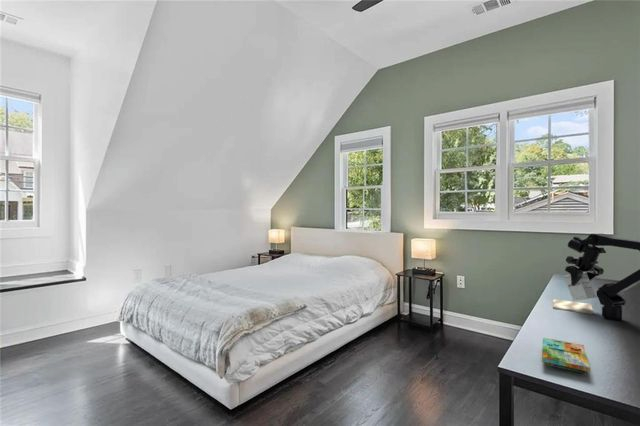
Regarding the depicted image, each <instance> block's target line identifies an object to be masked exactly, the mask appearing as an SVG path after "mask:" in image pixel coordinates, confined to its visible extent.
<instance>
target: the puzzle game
mask: <svg viewBox="0 0 640 426" xmlns="http://www.w3.org/2000/svg"><path fill="white" fill-rule="evenodd" d="M541 350H542V351H541V353H542V354H541V355H542V357H541V362H543V363H544V364H546V366H550V367H554V368H559V369H563V370H568V371H574V372H577V373H580V374H584V373H586V372H588V373H590V372H591V366H590V363H589V360H588V356H587V352H586V348H585V345H584V344H579V343H576V342H575V343H574V342H568V341H565V340H559V339H553V338H547V337H542V349H541Z"/></svg>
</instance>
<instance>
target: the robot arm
mask: <svg viewBox="0 0 640 426" xmlns="http://www.w3.org/2000/svg"><path fill="white" fill-rule="evenodd" d="M598 246H599V247H598ZM601 246H602V247H601ZM607 246H609V247H617V248H623V249H630V250H637V251H639V252H640V240H635V239H626V238H619V237H618V238H617V237H614V236H612V235H609V234H606V233H590V234H589V235H588V236H587V237H586V238H584V239H583V238H581V237H579V236H573V238H572V239H570V240H569V241H568V243H567V247H568V249H570V250H572V251H575V252H577V253H579V254H582V253H583V254H582V256H579V257H577V256H572V255H571V256H570V255H568V256H566V258H565V262H566V263H567V264H568V265H567V266H565V269H564V271H565V272H566V273H569V275H571V285H573V286H574V285H575V284H576V283H577V282H578V281H579V280H580V279H581V278H582V277H583V276H581V275H582V274H583V273H587V276H588V278H589V280H590V282H591V281H592V280H594V279H596V278H597V277H599V276H600V275H603V274H604V272H605V270H604V268H602V267H600V266H598V264H599V261H598V258H599V256H600V254H607V251H606V249H605V248H604V247H607ZM570 264H571V265H570ZM639 284H640V268H639V269H638V270H636V271H634V272H632V273H631V274H629V275H628V276H626V277H624V278H622V279H621V280H619V281H618V282H615V283H614V282H610V283H604V284H603V285H602V286H600V287H597V290H596V292H595V294H596V296H597V297H596V298H598V301H599V303H600V305H601V316H602V317H603V319H604V320H605V319H606V320H611V321H612V320H613V321H619V322H623V321H624V319H623V306H625V305H626V303H627V301H626V300H625V299H624V298H623V297H622V296H623V295H624V293H625V291H628V290H630V289H631V288H633V287H634V286H636V285H639Z"/></svg>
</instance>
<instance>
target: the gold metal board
mask: <svg viewBox="0 0 640 426" xmlns="http://www.w3.org/2000/svg"><path fill="white" fill-rule="evenodd" d="M552 309H554V310H561V311H566V312H567V311H568V312H575V313H583V314H589V315H595V314H594V310H593V306H592V303H586V302H578V301H569V300H563V299H553V300H552Z"/></svg>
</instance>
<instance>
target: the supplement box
mask: <svg viewBox="0 0 640 426" xmlns="http://www.w3.org/2000/svg"><path fill="white" fill-rule="evenodd" d="M581 276H583V277H582V278H581V279H580V280H579V281H578V282H577V283H576V284H575V285H574V286H573V285H571V275H570V274H567V275H564V276H563V278H564V281H565V283H566V286H567V289H568V290H569V293H570V296H571V298H572V302H577V301H583V300H589V299H590V300H591V299H594V298H595V299H596V298H598V297H597V293H596V292H595V290H594V288H593V285H592V283H591V281H590V280H589V278H588V276H587V273H585V272H583V274H582V275H581Z"/></svg>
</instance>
